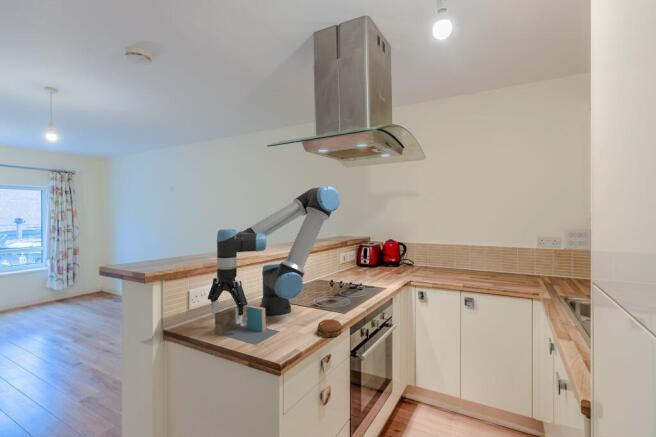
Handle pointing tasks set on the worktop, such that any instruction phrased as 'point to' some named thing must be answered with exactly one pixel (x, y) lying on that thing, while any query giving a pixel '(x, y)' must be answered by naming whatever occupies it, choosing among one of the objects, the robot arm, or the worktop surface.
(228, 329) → the brown wooden block
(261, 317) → the teal and beige block
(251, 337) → the mat
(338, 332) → the burger
